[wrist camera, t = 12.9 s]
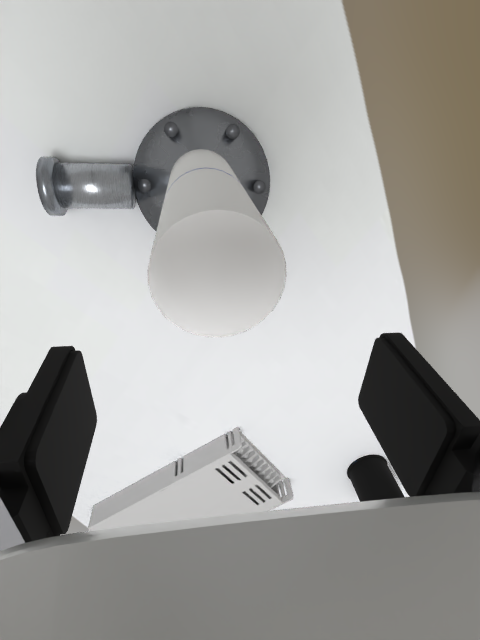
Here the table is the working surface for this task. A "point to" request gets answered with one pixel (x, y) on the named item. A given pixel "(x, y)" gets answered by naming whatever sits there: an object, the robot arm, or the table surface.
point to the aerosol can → (373, 479)
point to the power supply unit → (198, 487)
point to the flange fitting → (156, 166)
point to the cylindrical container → (213, 252)
